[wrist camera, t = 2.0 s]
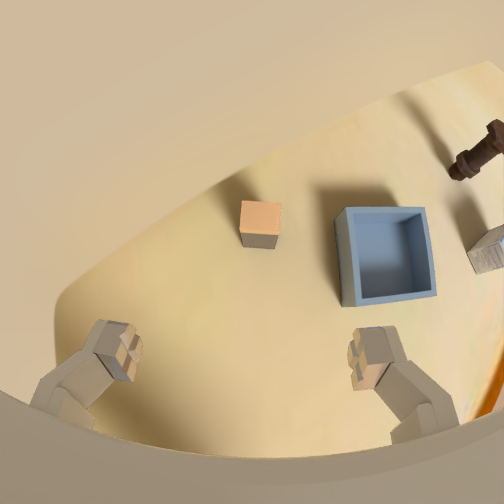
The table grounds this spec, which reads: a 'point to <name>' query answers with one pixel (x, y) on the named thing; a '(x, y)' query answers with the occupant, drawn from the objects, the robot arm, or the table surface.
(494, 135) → the bolt
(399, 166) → the table surface
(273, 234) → the block
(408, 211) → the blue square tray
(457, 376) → the table surface
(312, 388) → the table surface
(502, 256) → the medicine box
